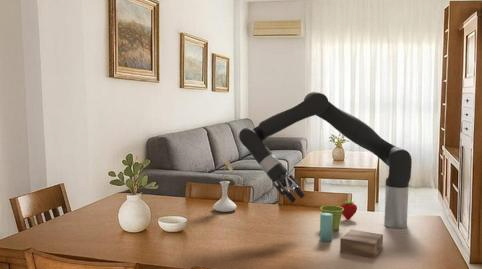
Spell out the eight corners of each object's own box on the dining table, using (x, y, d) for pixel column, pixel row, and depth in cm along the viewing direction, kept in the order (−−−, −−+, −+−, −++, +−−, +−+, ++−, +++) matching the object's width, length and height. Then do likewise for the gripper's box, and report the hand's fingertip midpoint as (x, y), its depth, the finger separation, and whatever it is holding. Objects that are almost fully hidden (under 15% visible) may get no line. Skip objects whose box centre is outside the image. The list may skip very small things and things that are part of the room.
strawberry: (358, 221, 203) (358, 199, 202) (340, 221, 203) (341, 199, 202) (355, 218, 209) (355, 196, 208) (338, 217, 209) (338, 196, 208)
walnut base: (350, 242, 176) (350, 229, 176) (382, 247, 170) (382, 234, 170) (340, 251, 166) (340, 238, 165) (373, 258, 160) (374, 244, 159)
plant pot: (343, 232, 188) (343, 211, 187) (319, 231, 190) (320, 210, 189) (343, 226, 197) (343, 206, 196) (320, 224, 199) (320, 204, 198)
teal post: (322, 237, 182) (322, 212, 181) (333, 239, 180) (334, 213, 179) (318, 240, 178) (318, 215, 177) (329, 242, 176) (330, 216, 175)
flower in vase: (236, 213, 216) (236, 160, 213) (211, 213, 216) (211, 160, 213) (237, 206, 229) (237, 156, 226) (213, 206, 229) (213, 156, 226)
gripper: (271, 164, 180) (298, 197, 176) (286, 159, 192) (312, 189, 188) (259, 176, 183) (285, 208, 179) (275, 171, 196) (299, 201, 191)
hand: (298, 199), depth 183 cm, fingers open, 8 cm apart
